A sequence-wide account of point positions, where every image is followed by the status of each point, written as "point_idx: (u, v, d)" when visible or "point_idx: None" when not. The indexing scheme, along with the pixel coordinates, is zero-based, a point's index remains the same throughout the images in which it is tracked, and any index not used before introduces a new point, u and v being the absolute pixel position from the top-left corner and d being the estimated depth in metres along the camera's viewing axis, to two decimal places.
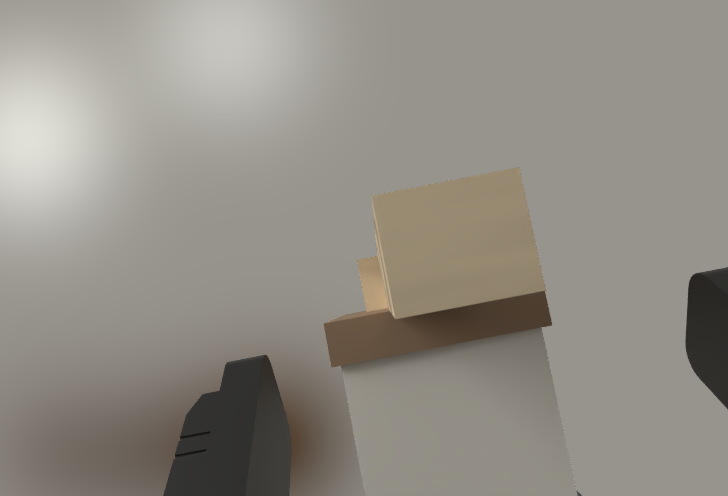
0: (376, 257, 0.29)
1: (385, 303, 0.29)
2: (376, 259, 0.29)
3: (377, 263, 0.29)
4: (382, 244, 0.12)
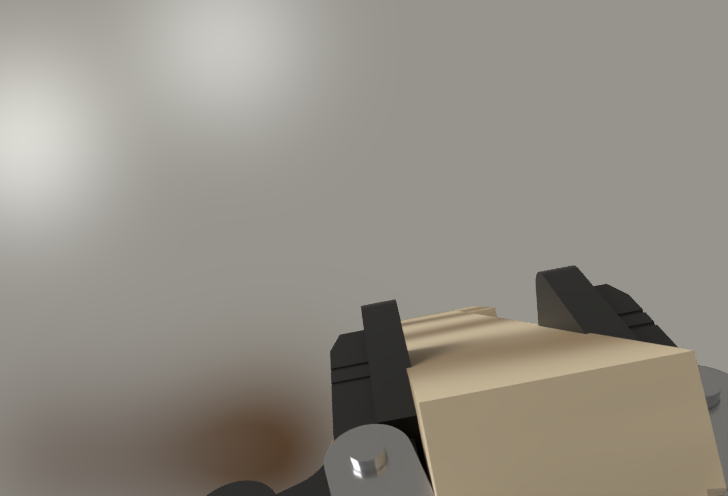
0: None
1: None
2: None
3: None
4: None
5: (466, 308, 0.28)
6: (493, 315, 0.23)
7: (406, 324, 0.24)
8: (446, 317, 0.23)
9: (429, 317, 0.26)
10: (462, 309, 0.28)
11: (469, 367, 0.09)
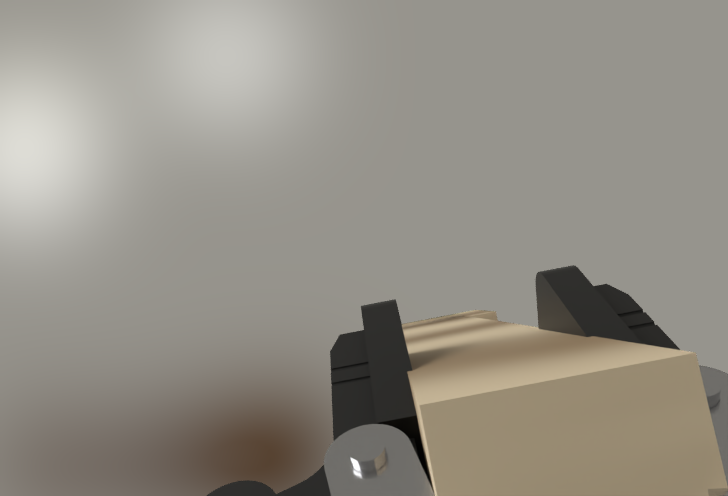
0: None
1: None
2: None
3: None
4: None
5: (467, 312, 0.28)
6: (494, 319, 0.23)
7: (407, 328, 0.24)
8: (447, 321, 0.23)
9: (430, 321, 0.26)
10: (463, 313, 0.27)
11: (470, 370, 0.09)
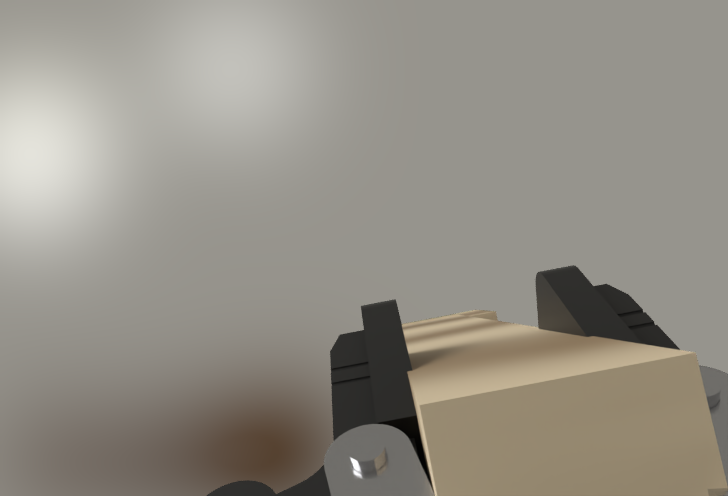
0: None
1: None
2: None
3: None
4: None
5: (467, 312, 0.28)
6: (494, 319, 0.23)
7: (407, 328, 0.24)
8: (447, 321, 0.23)
9: (430, 321, 0.26)
10: (463, 313, 0.27)
11: (470, 370, 0.09)
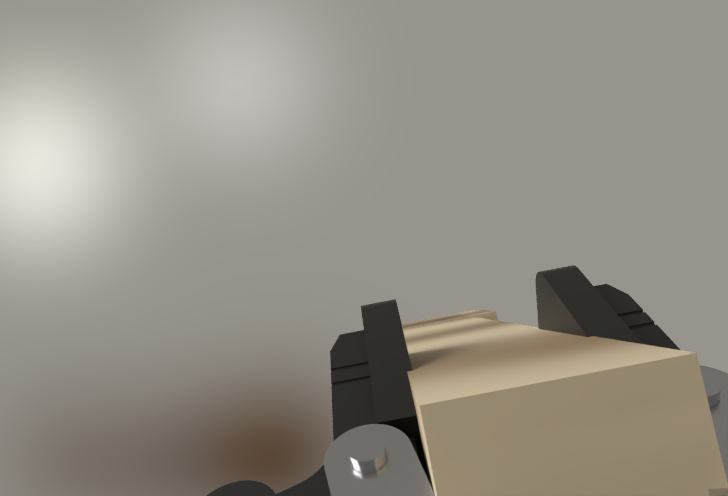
0: None
1: None
2: None
3: None
4: None
5: (467, 312, 0.28)
6: (494, 319, 0.23)
7: (407, 328, 0.24)
8: (447, 321, 0.23)
9: (430, 321, 0.26)
10: (463, 313, 0.27)
11: (470, 370, 0.09)
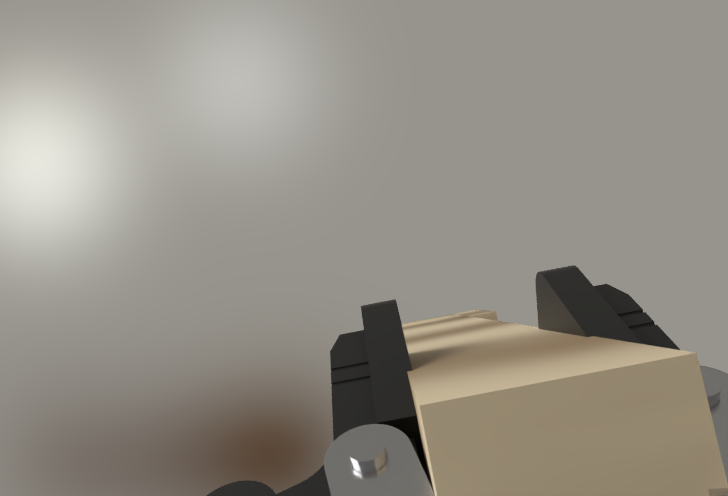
0: None
1: None
2: None
3: None
4: None
5: (467, 312, 0.28)
6: (494, 319, 0.23)
7: (407, 328, 0.24)
8: (447, 321, 0.23)
9: (430, 321, 0.26)
10: (463, 313, 0.27)
11: (470, 370, 0.09)
